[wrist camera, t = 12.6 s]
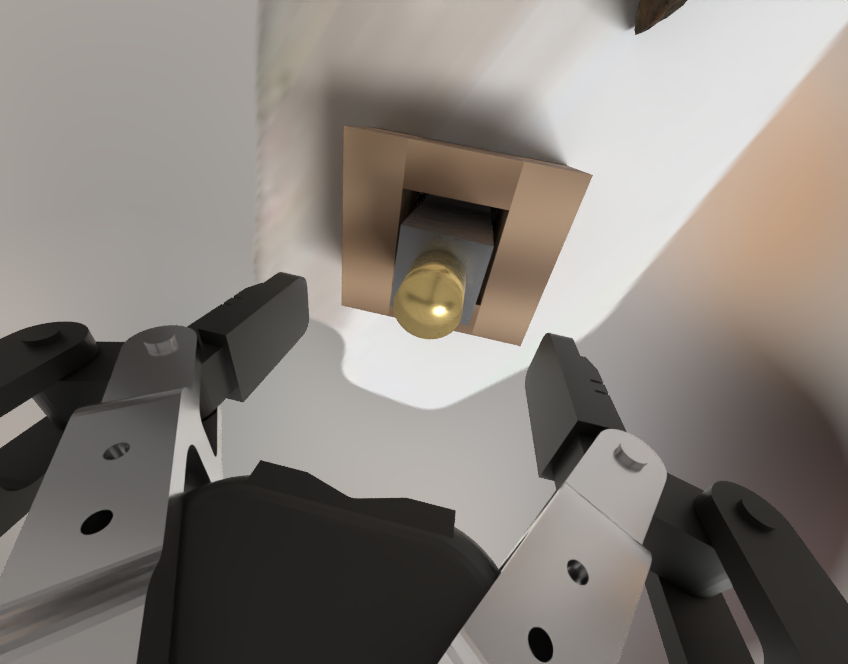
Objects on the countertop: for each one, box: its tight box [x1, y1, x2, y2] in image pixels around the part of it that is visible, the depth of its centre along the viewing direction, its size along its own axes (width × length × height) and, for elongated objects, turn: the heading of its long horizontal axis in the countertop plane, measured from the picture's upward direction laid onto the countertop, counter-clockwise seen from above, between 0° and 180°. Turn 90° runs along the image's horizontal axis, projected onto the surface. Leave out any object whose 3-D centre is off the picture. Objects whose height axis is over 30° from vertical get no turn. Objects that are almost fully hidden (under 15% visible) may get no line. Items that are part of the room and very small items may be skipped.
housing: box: [342, 126, 593, 346], centre depth 19 cm, size 10×12×5 cm
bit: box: [390, 194, 494, 339], centre depth 16 cm, size 4×4×12 cm
